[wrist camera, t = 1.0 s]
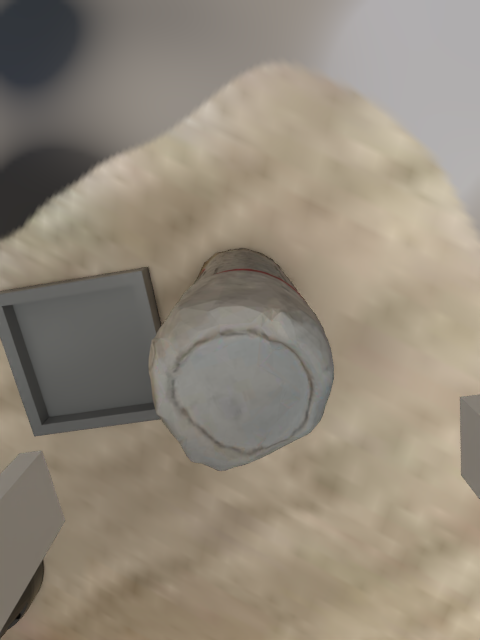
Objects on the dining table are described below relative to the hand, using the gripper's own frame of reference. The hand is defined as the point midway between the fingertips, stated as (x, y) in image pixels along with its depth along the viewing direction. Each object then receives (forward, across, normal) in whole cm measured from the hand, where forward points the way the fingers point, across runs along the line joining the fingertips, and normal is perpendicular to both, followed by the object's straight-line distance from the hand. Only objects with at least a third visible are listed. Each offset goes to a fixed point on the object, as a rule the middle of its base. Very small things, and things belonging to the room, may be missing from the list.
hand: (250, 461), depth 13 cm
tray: (+23, -14, -2) cm, 27 cm away
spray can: (+23, -1, +1) cm, 23 cm away
